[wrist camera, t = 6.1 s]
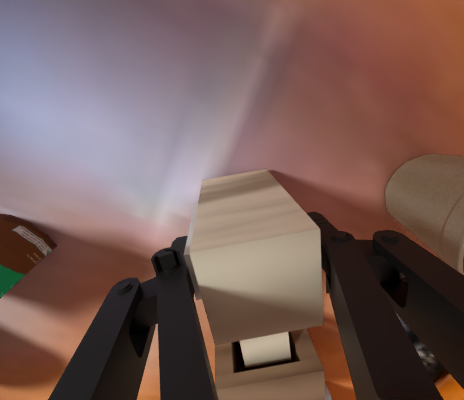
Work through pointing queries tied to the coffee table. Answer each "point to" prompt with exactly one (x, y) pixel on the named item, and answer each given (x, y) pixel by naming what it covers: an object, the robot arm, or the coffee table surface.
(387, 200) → the flower pot
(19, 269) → the half-round slice
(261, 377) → the block
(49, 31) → the coffee table surface
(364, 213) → the coffee table surface
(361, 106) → the coffee table surface
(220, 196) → the cream l-shaped piece
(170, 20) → the coffee table surface
